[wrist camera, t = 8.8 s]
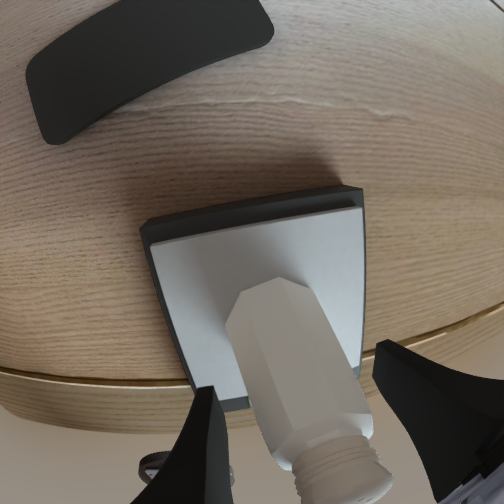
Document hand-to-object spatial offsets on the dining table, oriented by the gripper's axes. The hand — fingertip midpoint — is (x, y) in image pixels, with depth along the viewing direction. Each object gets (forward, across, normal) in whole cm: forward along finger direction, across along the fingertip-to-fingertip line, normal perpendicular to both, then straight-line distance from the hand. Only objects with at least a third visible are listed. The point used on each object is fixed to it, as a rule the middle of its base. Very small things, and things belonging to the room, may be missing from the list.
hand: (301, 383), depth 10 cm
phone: (+8, +5, -17) cm, 20 cm away
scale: (+8, 0, +1) cm, 8 cm away
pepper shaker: (+5, 0, 0) cm, 5 cm away
